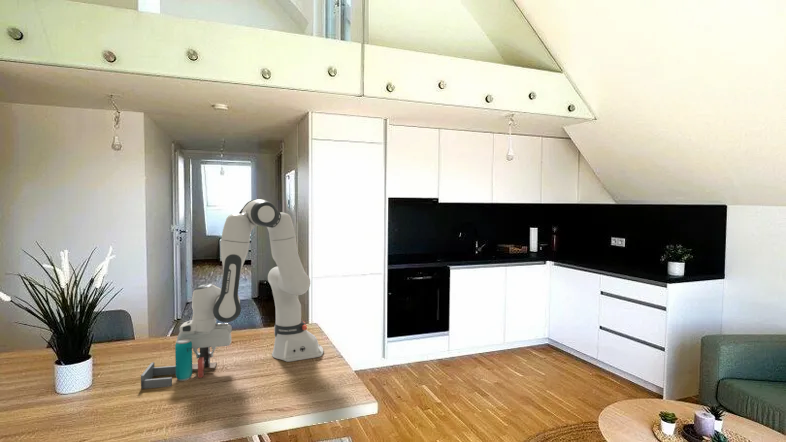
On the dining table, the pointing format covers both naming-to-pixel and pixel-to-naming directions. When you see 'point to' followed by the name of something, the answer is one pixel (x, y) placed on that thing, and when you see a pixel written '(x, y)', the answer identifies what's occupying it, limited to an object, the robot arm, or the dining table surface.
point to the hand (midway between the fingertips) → (204, 357)
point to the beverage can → (183, 359)
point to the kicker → (203, 361)
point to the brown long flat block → (210, 368)
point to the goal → (154, 371)
